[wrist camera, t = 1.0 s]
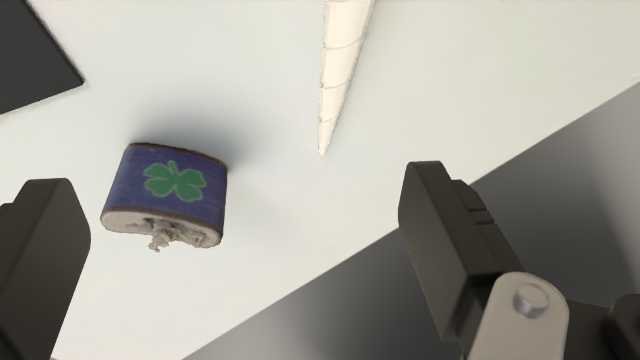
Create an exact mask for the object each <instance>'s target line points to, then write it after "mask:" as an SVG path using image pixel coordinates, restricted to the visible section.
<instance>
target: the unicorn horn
mask: <svg viewBox="0 0 640 360" xmlns="http://www.w3.org/2000/svg"><path fill="white" fill-rule="evenodd" d="M374 4H375V0H328V1H325V7H324V26H323V42H324V43H326V44H325V47H323V48H322V56H321V75H320V82H321V83H323V87H320V97H319V118H321V122H319V131H318V142H319V144H318V149H319V150H320V152H319V156H320V159H322V158H323V157H324V155H325V153H326V151H327V148H328V146H329V143H330V140H331V138H332V135H333V132H334V129H335V126H336V124H337V121H338V118H339V115H340V112H341V108H342V106H343V103H344V99H345V96H346V93H347V90H348V87H349V84H350V81H351V78H352V74H353V71H354V68H355V65H356V62H357V59H358V55H359V52H360V49H361V46H362V43H363V39H364V36H365V33H366V29H367V26H368V23H369V20H370V17H371V13H372V10H373V7H374Z"/></svg>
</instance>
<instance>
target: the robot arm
mask: <svg viewBox="0 0 640 360" xmlns="http://www.w3.org/2000/svg"><path fill="white" fill-rule="evenodd" d="M398 222H399V228H400V231H401V234H402V237H403V239H404V242H405V245H406V247H407V250H408V253H409V256H410V258H411V261H412V264H413V266H414V269H415V271H416V274H417V277H418V280H419V282H420V285H421V287H422V290H423V293H424V296H425V298H426V301H427V304H428V306H429V309H430V312H431V314H432V317H433V320H434V322H435V325H436V328H437V330H438V333H439V336H440V338H441V341H442V342H450V341H459V343H460V345H461V348H462V350H463V354H462V357H461V359H460V360H640V294H627V295H624V296H621V297H620V298H618V299H617V300H616V302H615V303H614V304H613V306H612V307H611V308H605V307H600V306H595V305H589V304H584V303H579V302H574V301H570V300H565V299H564V297H563V296H562V294H561V293H560V292H559V291H558V290H557V289H556V288H555V287H554V286H553V285H551V284H550V283H549V282H547V281H545V280H544V279H541V278H539V277H537V276H535V275H532V274H528V273H527V272H526V271H525V269H524V268H523V266H522V264H521V263H520V261H519V260H518V258H517V256H516V255H515V253H514V252H513V250H512V248H511V247H510V245H509V244H508V242H507V240H506V239H505V237H504V236H503V234H502V232H501V231H500V229H499V227H498V226H497V224H495V223H494V219H493V218H492V216H491V214H490V213H489V211H487V210H486V206H485V205H484V203H483V202H482V200H481V198H480V197H479V195H478V193H477V192H476V191H475V190H473V189H472V188H470V186H468V185H467V184H466V183H465V182H463V181H462V180H461V179H460V180H451V178H450V176H449V174H448V173H447V171H446V169H445V167H444V166H443V164H442V163H441V162H440V161H419V162H409V163H408V165H407V167H406V171H405V176H404V181H403V186H402V191H401V196H400V201H399V206H398ZM90 244H91V233H90V227H89V224H88V222H87V219H86V217H85V215H84V212H83V210H82V207H81V205H80V202H79V200H78V198H77V195H76V193H75V190H74V188H73V186H72V184H71V182H70V181H69V180H68V179H67V178H53V179H32V180H28V181H27V182H25V184H24V185H23V187H22V188H21V190H20V192H19V193H18V195H17V197H16V198H15V200H14V201H13V203H4V204H3V205H2V206H0V360H49V359H50V356H51V354H52V351H53V348H54V345H55V343H56V340H57V337H58V335H59V332H60V329H61V326H62V324H63V321H64V318H65V316H66V313H67V310H68V307H69V305H70V302H71V299H72V297H73V294H74V291H75V288H76V286H77V283H78V280H79V278H80V275H81V272H82V269H83V267H84V264H85V261H86V259H87V256H88V253H89V250H90Z"/></svg>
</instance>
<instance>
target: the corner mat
mask: <svg viewBox="0 0 640 360" xmlns="http://www.w3.org/2000/svg"><path fill="white" fill-rule="evenodd" d="M83 83H84V82H83V80H82V79H81V77H80V76H79V75H78V73H77V72H76V71H75V69H74V68H73V67H72V65H71V64H70V62H69V61H68V60H67V58H66V57H65V56H64V54H63V53H62V51H61V50H60V49H59V47H58V46H57V45H56V43H55V42H54V41H53V39H52V38H51V36H50V35H49V34H48V32H47V31H46V30H45V28H44V27H43V25H42V24H41V23H40V21H39V20H38V19H37V17H36V16H35V15H34V13H33V12H32V10H31V9H30V8H29V6H28V5H27V4H26V2H25V1H24V0H0V115H1V114H4V113H6V112H9V111H12V110H15V109H18V108H20V107H23V106H26V105H29V104H31V103H34V102H37V101H40V100H42V99H45V98H48V97H51V96H54V95H56V94H59V93H62V92H65V91H67V90H70V89H73V88H76V87H78V86H81V85H83Z"/></svg>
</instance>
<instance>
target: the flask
mask: <svg viewBox="0 0 640 360" xmlns="http://www.w3.org/2000/svg"><path fill="white" fill-rule="evenodd" d="M226 189H227V167H226V165H225V164H224V163H223V162H221V161H219V160H217V159H215V158H212V157H210V156H207V155H204V154H202V153H201V154H200V153H198V152H195V151H192V150H187V149H178V148H175V147H169V146H164V145H157V144H156V145H155V144H149V143H134V144H131V145H130V146H128V147H127V148H126V149H125V151H124V153H123V156H122V159H121V162H120V165H119V168H118V170H117V173H116V176H115V179H114V182H113V184H112V187H111V189H110V192H109V195H108V197H107V200H106V203H105V205H104V208H103V210H102V213H101V216H100V221H101V222H102V225H103V226H105V228H106V229H107V230H110V231H113V232H119V233H137V234H144V235H153V238H152V241H153V242H152V243H150V244H149V245H148V247H149V248H150V249H152V250H155V251H156V252H160V250H159V249H157V246H162V247H165V246H169V244H168V242H170V241H171V242H172V241H175V240H177V241H182V242H185V243H187V244H191V245H193V246H194V247H196V248H200V247H201V248H210V247H214V246H216V245H218V244H220V242H221V239H222V237H223V226H224V215H225V203H226Z"/></svg>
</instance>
